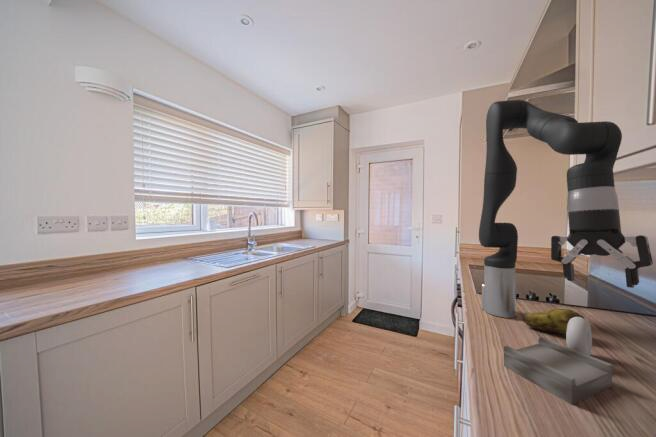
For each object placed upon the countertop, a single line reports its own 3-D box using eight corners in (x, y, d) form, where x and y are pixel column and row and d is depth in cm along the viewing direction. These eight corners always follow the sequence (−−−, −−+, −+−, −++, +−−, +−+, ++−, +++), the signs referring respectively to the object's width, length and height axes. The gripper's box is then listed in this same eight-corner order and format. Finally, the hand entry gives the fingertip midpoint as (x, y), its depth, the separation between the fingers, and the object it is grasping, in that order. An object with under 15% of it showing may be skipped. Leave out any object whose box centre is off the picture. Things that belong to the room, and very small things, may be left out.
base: (503, 365, 54) (503, 346, 54) (541, 354, 59) (541, 336, 59) (571, 404, 43) (571, 380, 43) (612, 386, 47) (612, 364, 47)
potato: (533, 322, 78) (533, 298, 78) (589, 339, 66) (589, 311, 66) (521, 327, 74) (521, 302, 74) (579, 346, 62) (578, 317, 62)
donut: (574, 348, 61) (573, 310, 62) (593, 354, 59) (593, 315, 59) (564, 361, 56) (563, 319, 56) (585, 369, 53) (585, 325, 53)
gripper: (648, 207, 47) (657, 288, 46) (555, 213, 60) (560, 277, 58) (642, 204, 44) (651, 292, 42) (543, 211, 56) (548, 279, 55)
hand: (598, 283), depth 50 cm, fingers open, 8 cm apart
